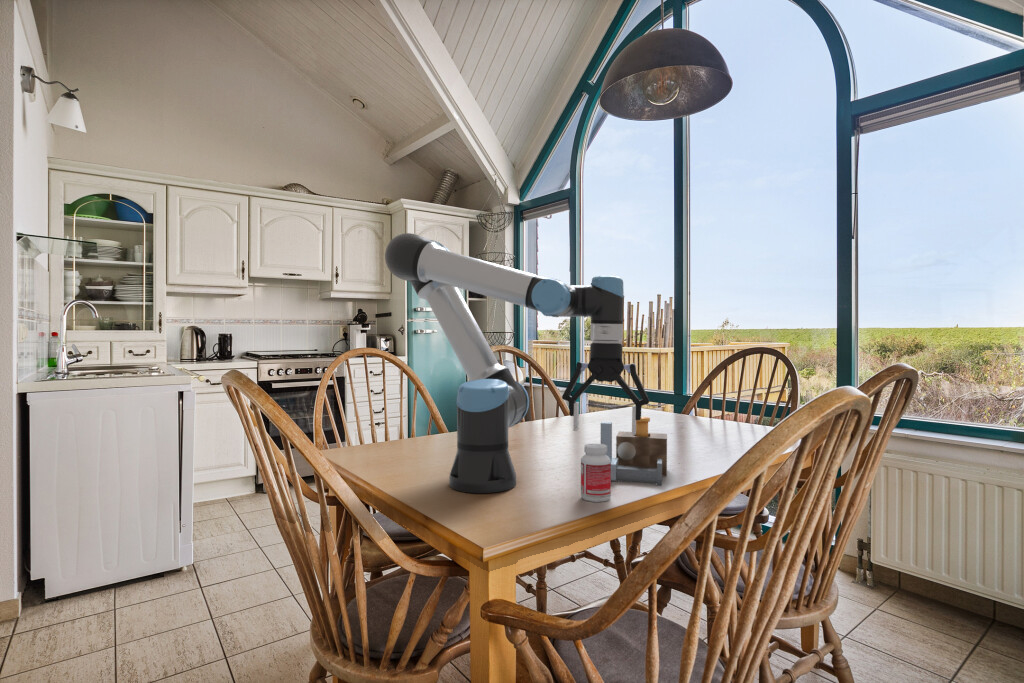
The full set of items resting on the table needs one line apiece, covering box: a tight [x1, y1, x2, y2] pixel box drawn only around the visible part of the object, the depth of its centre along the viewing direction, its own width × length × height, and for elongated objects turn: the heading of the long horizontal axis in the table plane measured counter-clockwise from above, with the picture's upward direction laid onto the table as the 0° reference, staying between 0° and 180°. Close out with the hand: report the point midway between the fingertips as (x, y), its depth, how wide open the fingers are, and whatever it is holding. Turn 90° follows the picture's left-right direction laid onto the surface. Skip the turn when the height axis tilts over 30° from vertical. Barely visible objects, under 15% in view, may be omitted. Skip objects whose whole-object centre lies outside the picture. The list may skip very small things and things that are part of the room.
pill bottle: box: [580, 443, 612, 503], centre depth 112 cm, size 6×6×11 cm
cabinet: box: [615, 430, 668, 477], centre depth 135 cm, size 12×7×9 cm, turn 73°
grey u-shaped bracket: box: [611, 459, 663, 487], centre depth 126 cm, size 17×5×5 cm, turn 73°
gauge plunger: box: [636, 416, 651, 437], centre depth 135 cm, size 4×4×7 cm
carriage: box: [600, 421, 618, 480], centre depth 127 cm, size 5×7×13 cm
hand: (604, 432), depth 128 cm, fingers open, 13 cm apart
